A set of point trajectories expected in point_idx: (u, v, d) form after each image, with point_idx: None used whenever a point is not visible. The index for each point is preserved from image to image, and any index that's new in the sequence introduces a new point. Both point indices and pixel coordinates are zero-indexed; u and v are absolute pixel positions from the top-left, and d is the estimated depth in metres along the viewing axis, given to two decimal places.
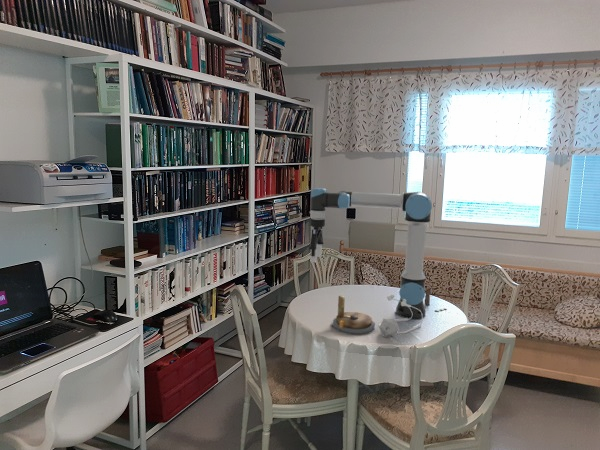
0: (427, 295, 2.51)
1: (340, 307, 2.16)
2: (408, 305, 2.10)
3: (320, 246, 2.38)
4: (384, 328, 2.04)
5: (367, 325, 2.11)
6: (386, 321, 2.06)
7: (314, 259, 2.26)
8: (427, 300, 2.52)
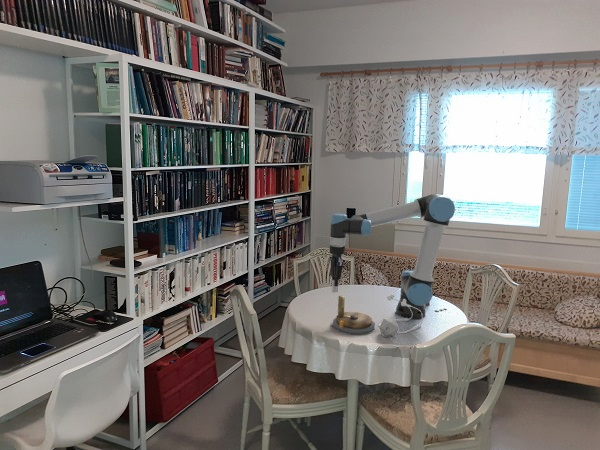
0: None
1: (340, 307, 2.16)
2: (408, 305, 2.10)
3: None
4: (384, 328, 2.04)
5: (367, 325, 2.11)
6: (386, 321, 2.06)
7: (336, 289, 2.24)
8: None
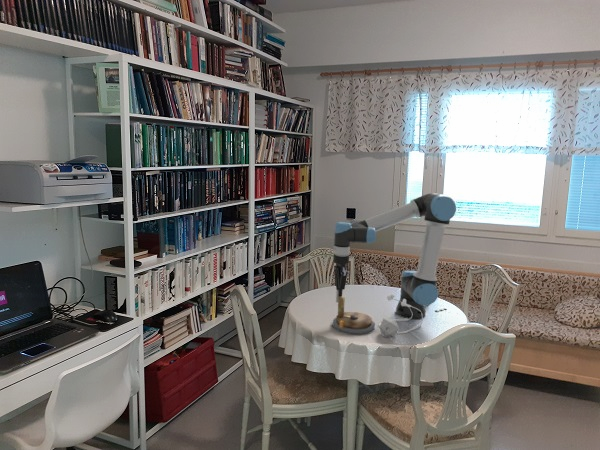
0: None
1: (340, 307, 2.16)
2: (408, 305, 2.10)
3: None
4: (384, 328, 2.04)
5: (367, 325, 2.11)
6: (386, 321, 2.06)
7: None
8: None
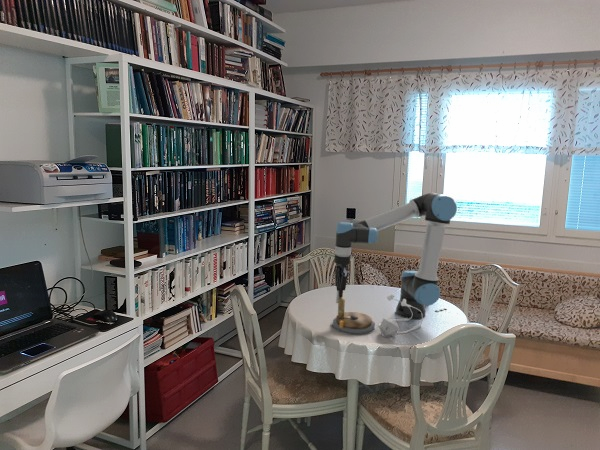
0: None
1: (342, 309, 2.14)
2: (408, 305, 2.10)
3: None
4: (384, 328, 2.04)
5: (370, 323, 2.13)
6: (386, 321, 2.06)
7: None
8: None
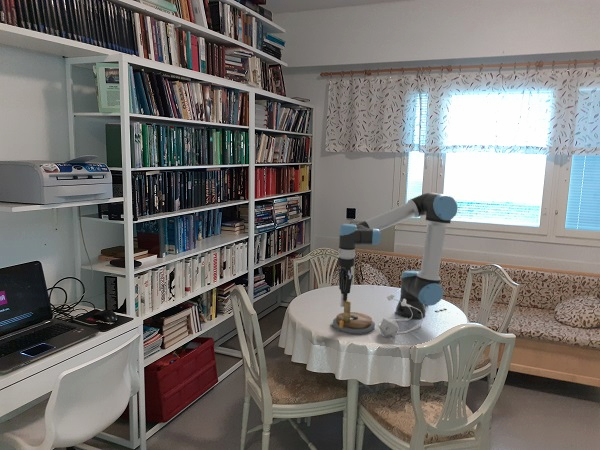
0: None
1: (349, 312, 2.10)
2: (408, 305, 2.10)
3: None
4: (384, 328, 2.04)
5: None
6: (386, 321, 2.06)
7: None
8: None
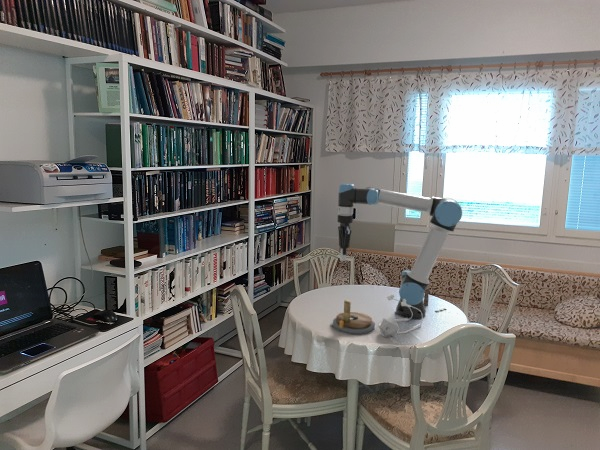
0: (426, 295, 2.50)
1: (349, 312, 2.10)
2: (408, 305, 2.10)
3: None
4: (384, 328, 2.04)
5: None
6: (386, 321, 2.06)
7: (345, 258, 2.29)
8: (426, 300, 2.51)
